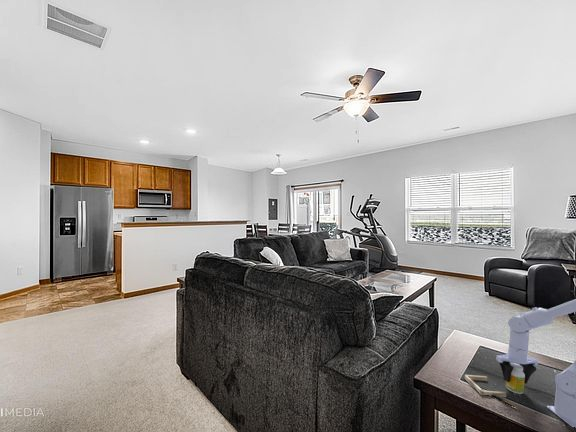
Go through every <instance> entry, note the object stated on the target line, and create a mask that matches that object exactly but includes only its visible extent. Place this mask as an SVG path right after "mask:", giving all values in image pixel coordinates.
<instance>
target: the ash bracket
mask: <svg viewBox="0 0 576 432" xmlns="http://www.w3.org/2000/svg"><path fill="white" fill-rule="evenodd" d="M463 379H464V380H466V381H465V382H467V383H468V384H469V385H470V386H471V387H472V388H473V389H474V388H475V389H476V390H477V391H478V392H479V393H478V392H477V391H476V392H477V393H478V394H479V395H480V396H482V395H489V396H488V397H492V396H491V395H495V396H497V397H499V398H507V393H506V391H495V390H494V391H493V390H485V389H483V388H482V387H480V386H479V385H478V384H476V383H475V381H479V382H480V381H484V382H488V376H487V375H474V374H464V375H463ZM475 389H474V390H475ZM482 389H483V390H482Z"/></svg>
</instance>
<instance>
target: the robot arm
mask: <svg viewBox="0 0 576 432" xmlns="http://www.w3.org/2000/svg"><path fill="white" fill-rule="evenodd" d="M572 313H576V298H575V299H572V300H569V301H566V302H564V303H562V304H559V305H556V306H553V307H550V308H548V309H547V308H543V307H537V306H536V307H532V308H531V310H529V311H527V312H520V313H519V315H515V316H512V317H511V318H509V319H508V322H507V323H508V327H509V329H510V331H509V337H508V350H507V351H508V352H506V353H505V354H506V355H505V354H501V355H500V354H499V355H498V354H497V355H496V359H495V360H496V361H497V362H498V364H499V366H500V369H501V372H502V376H503V380H504V381H505V382H506V381H507V382H510V378H511V373H512V370H513V369H514V367H512V366H511V364H510V363H518V364H519V365H521V366H522V367H523V373H524V374H525V382H524V384H528V381H529V380H530V378H531V376H532V375H533V374H534V373H535V372H536V371H537V367H538V366H539V360H537V359H536V358H534V357H528V355H529V354H528V353H529V340H530V331H531V330H533V329H537V328H540V327H544V326H547V325H551V324H553V323H554V319H555V318H558V317H562V316H565V315H569V314H572ZM536 366H537V367H536ZM554 381H555V396H554V405H546V407H547V409H549V410H550V411H551V412H552V413H554V414H555V415H557V416H558V417H559V418H560V419H561V420H563V421H564V422H565V423H567V424H568V425H569V426H570V427H572V428H574V427H575V428H574V429H576V359H575V360H574V361H573V363H572V364H570V366H568V367H566V368H565V369H564V370H563V371H561V372H559V373H557V374H556V375H555V377H554Z"/></svg>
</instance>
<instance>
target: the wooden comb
mask: <svg viewBox="0 0 576 432" xmlns="http://www.w3.org/2000/svg"><path fill="white" fill-rule="evenodd" d="M481 389H482V390H484V389H483V388H481ZM490 397H492V398H493V397H494V399H495V398H496V400H497V399H498V400H497V401H499V402H501V401H502V402H503V404H504V403H505V404H504V405H506V404H508V405H510V406H513V407H516V408H518V407H517V406H516V405H514V404H512V403H511V402H508V401H507V400H505V399H502V397H497V396H495V395H491V396H490ZM502 402H501V403H502ZM508 405H507V406H508ZM510 406H509V407H510Z"/></svg>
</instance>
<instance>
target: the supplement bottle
mask: <svg viewBox="0 0 576 432" xmlns="http://www.w3.org/2000/svg"><path fill="white" fill-rule="evenodd" d="M510 364H511V366H512V367H514V369H513V370H512V373H511V378H510V382H507V381H506V380H505V387H506V389H507V390H508V391H510V392H513V393H514V394H518V395H522V394H524V392H525V390H524V389H525V383H524V382H525V374H524V373H523V367H522V366H521V365H520V364H519V363H518V364H516V363H510Z"/></svg>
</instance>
